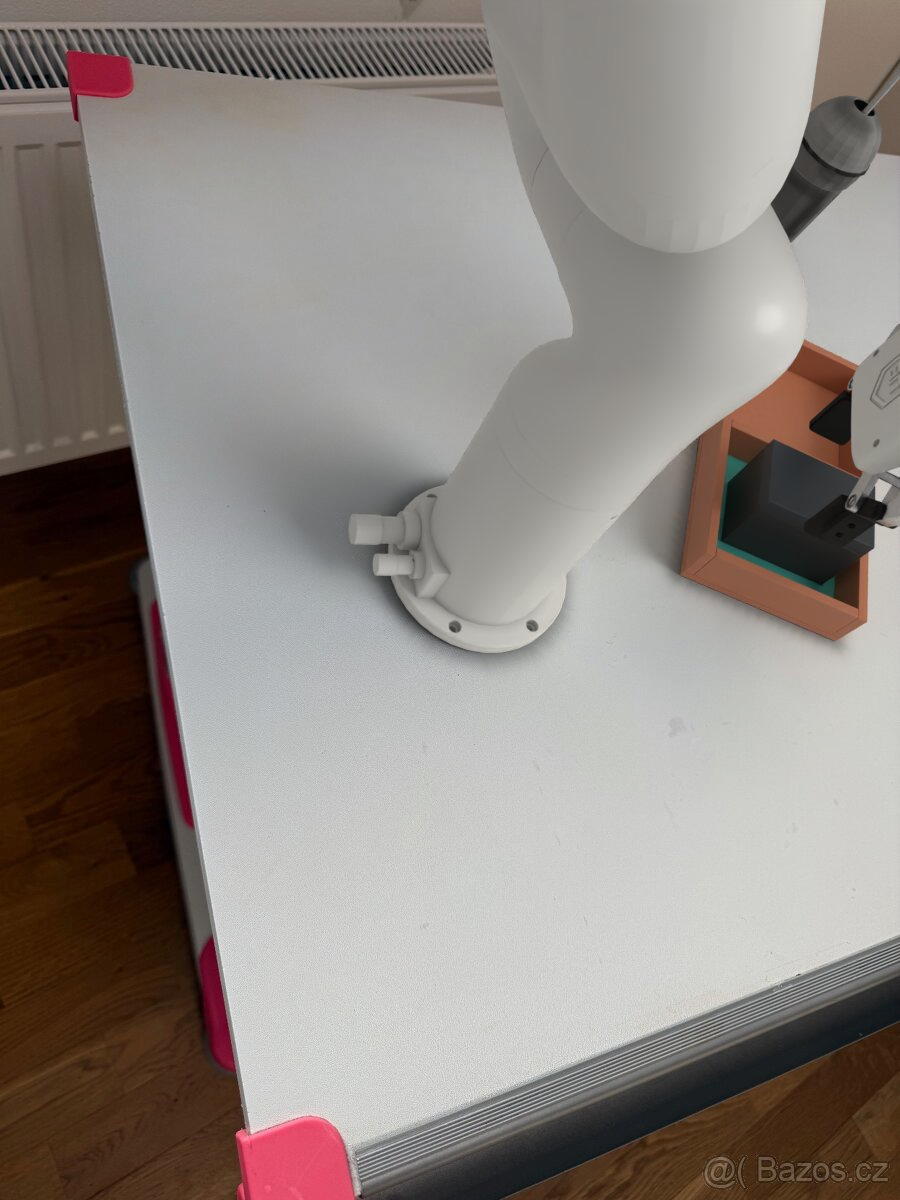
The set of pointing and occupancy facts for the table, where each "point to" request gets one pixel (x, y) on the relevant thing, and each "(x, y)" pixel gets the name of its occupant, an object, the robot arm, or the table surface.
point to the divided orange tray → (728, 452)
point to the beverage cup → (829, 158)
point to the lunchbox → (789, 512)
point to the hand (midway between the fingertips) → (823, 483)
